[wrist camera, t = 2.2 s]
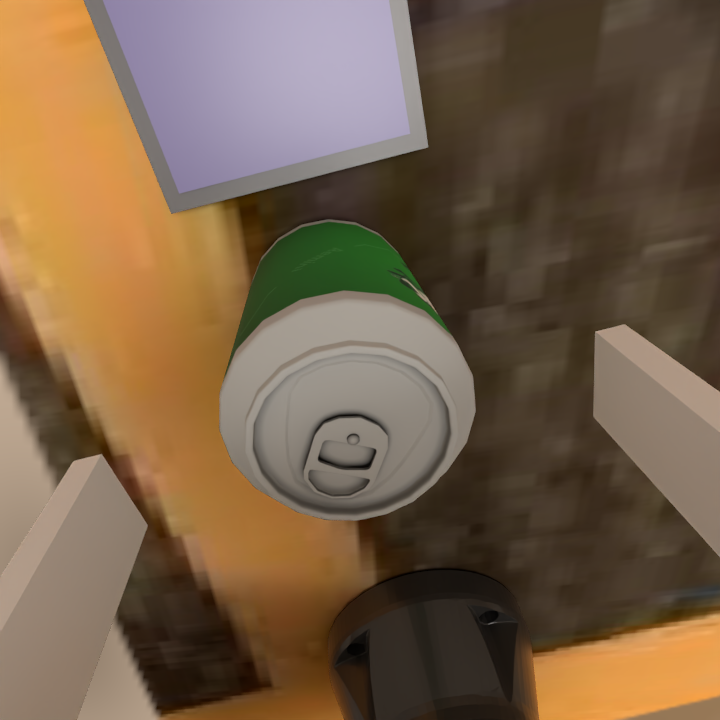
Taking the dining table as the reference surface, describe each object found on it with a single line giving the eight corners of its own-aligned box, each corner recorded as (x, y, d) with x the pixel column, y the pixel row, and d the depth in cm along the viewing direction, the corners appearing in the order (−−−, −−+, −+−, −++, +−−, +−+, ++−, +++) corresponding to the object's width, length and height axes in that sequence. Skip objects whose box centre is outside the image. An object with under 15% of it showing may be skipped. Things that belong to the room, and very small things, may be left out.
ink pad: (421, 145, 21) (429, 147, 20) (178, 208, 21) (169, 215, 20) (367, -215, 16) (373, -244, 14) (43, -127, 16) (19, -148, 14)
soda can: (240, 342, 24) (191, 523, 14) (271, 193, 21) (239, 280, 11) (379, 372, 26) (432, 554, 15) (428, 238, 23) (535, 352, 12)
